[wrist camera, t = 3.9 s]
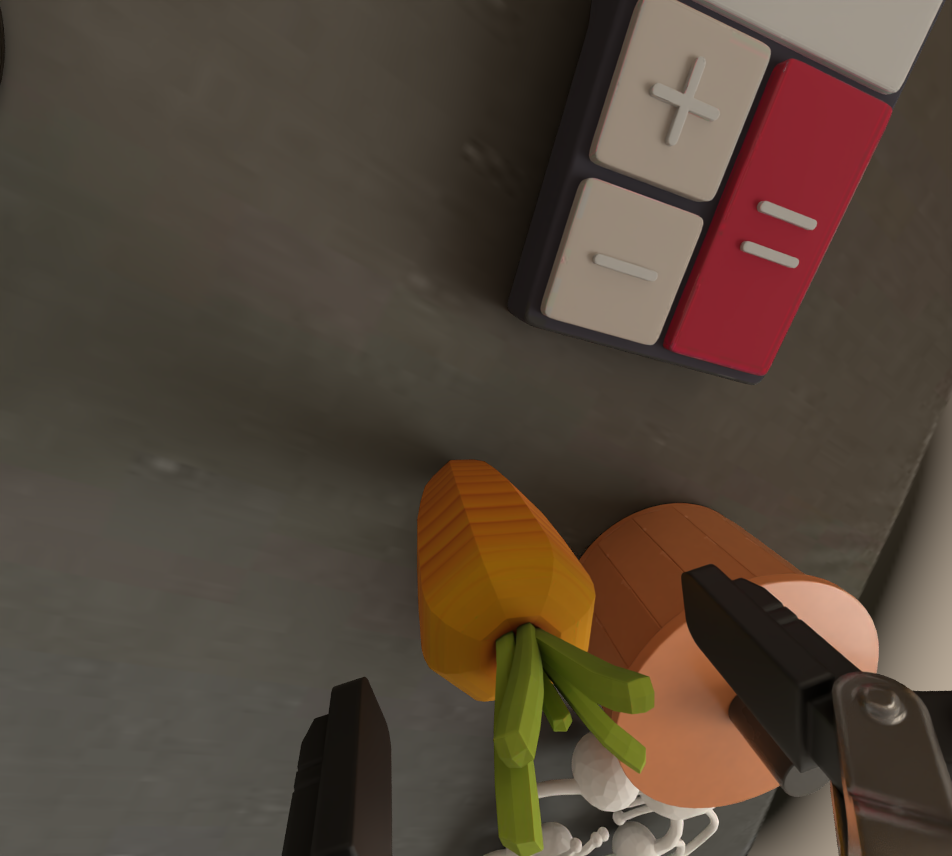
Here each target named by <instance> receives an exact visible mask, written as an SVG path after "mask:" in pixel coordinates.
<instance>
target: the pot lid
mask: <svg viewBox="0 0 952 856" xmlns="http://www.w3.org/2000/svg"><path fill="white" fill-rule="evenodd" d="M747 580H748V581H751V582H753V583H755V584H757V585H759V586H761V587H764V588H765V589H766V590H768V591H769V592H770V593H771V594H772V595H773V596H775V597H776V598H777V599H778V600H779V601H780V602H782V604H783V606H784V607H785V606H786V607H787V608H789V609H790V610H791V611H792V612H793V613H794V614H795V615H797V617H798V619H799V620H800V619H801V620H802V621H804V622H805V623H806V624H807V625H808V626H809V627H811V628H812V629H813V630H814V631H815V632H816V633H818V634H819V635H820V636H821V637H822V638H823V639H825V640H826V641H827V642H828V643H829V644H830V645H832V646H833V647H834V648H835V649H836V650H837V651H838V652H840V653H841V654H842V655H843V656H844V657H845V658H847V659H848V660H849V661H850V662H851V663H852V664H854V665H855V666H856V667H857V668H858V669H860V670H861V671H862V672H871V673H876V672H877V665H878V659H879V644H878V637H877V631H876V629H875V626H874V623H873V620H872V619H871V617H870V615H869V614H868V612H867V610H866V609H865V607H864V606H863V605H862V604H861V603H860V602H859V601H858V600H857V599H856V598H855V597H853V596H852V595H850V594H849V593H848V592H846V591H845V590H843V589H842V588H840V587H839V586H838V585H836V584H834V583H831V582H829V581H827V580H825V579H821V578H818V577H814V576H810V575H803V574H793V573H789V574H772V575H765V576H759V577H754V578H751V579H747ZM628 670H631V671H634V672H637V673H640V674H643V675H646V676H649V677H650V680H651V683H652V686H653V689H654V708H652V709H651V710H649V711H647V712H646V713H639V714H627V713H622V712H616V711H612V718H611V719H612V720H613V721H614V722H615V723H616V724H617V725H619V726H620V727H621V728H622V729H624V730H625V731H626V732H627V733H629V734H630V735H631V736H632V737H634V738H635V739H636V740H637V741H638V742H640V743H641V744H642V745H643V746H644V747H645V748H646V764H645V766H644V768H643V769H642V771H641V773H640V774H639V773H637V772H636V771H634V770H633V769H631V768H630V767H628V766H627V765H625V764H624V763H622V762H621V761H620V760H619V759H618V758H617V759H618V761H619V764H620V766H621V767H622V769H623V771H624V773H625V775H626V777H627V778H628V779H629V780H630V781H631V783H632V784H633V785H634V786H635V787H636V788H637V789H639V790H640V791H641V792H642V793H643V794H645V795H647V796H649V797H650V798H652V799H654V800H656V801H659V802H661V803H664V804H667V805H672V806H676V807H683V808H712V807H719V806H725V805H730V804H734V803H738V802H741V801H744V800H747V799H750V798H753V797H756V796H759V795H761V794H763V793H766V792H768V791H770V790H772V789H774V788H776V787H778V786H781V787H782V789H783V790H784V791H785V792H786V793H788V794H789V795H791V796H805V795H808V794H811V793H813V792H815V791H817V790H819V789H820V788H821V787H823V786H824V785H825V784H827V783H828V781H829V780H830V779H829V778H828V777H827V776H826V775H825V773H824V772H823V771H822V770H821V769H820V768H819V767H816V768H814V769H811V770H808V771H806V772H803V773H800V772H799V771H798V769H797V768H796V767H795V766H794V764H793V763H792V762H791V761H790V760H789V758H788V757H787V756H786V755H785V753H784V752H783V751H782V750H781V748H780V747H779V746H778V745H777V744H776V742H775V741H774V740H773V739H772V737H771V736H770V735H769V734H768V732H767V731H766V730H765V729H764V727H763V726H762V725H761V724H760V723H759V721H758V720H757V719H756V718H755V716H754V715H753V714H752V713H751V711H750V710H749V709H748V708H747V707H746V705H745V704H744V703H743V702H742V700H741V699H740V698H739V697H738V695H737V694H736V693H735V692H734V690H733V689H732V688H731V687H730V686H729V684H728V683H727V682H726V681H725V679H724V678H723V677H722V676H721V674H720V673H719V672H718V671H717V670H716V668H715V667H714V666H713V665H712V663H711V662H710V661H709V660H708V658H707V657H706V656H705V655H704V653H703V652H702V651H701V650H700V649H699V647H698V646H697V645H696V643H695V641H694V640H693V638H692V636H691V634H690V632H689V629H688V626H687V623H686V618H685V610H683V611H682V612H681V613H679V614H678V615H677V616H676V617H674V618H673V619H672V620H671V621H669V622H668V623H667V624H666V625H665V626H664V627H663V628H662V629H661V630H660V631H659V632H657V633H656V634H655V635H654V636H653V637H652V639H651V640H650V641H649V642H648V643H647V644H646V646H645V647H644V648H643V649H642V650H641V651H640V653H639V654H638V656H637V657H636V659H635V660H634V662H633V663H632V665H631V666H630V667H629V669H628Z"/></svg>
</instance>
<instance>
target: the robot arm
mask: <svg viewBox="0 0 952 856" xmlns="http://www.w3.org/2000/svg"><path fill="white" fill-rule="evenodd" d="M4 55H5V40H4V27H3V20H2V14H1V9H0V84H1V80H2V74H3V68H4ZM681 583H682V592H683V601H684V609H685V618H686V623H687V626H688V629H689V632H690V634H691V636H692V638H693V640H694V641H695V643H696V645H697V646H698V647H699V649H700V650H701V651H702V652H703V653H704V655H705V656H706V657H707V658H708V660H709V661H710V662H711V663H712V665H713V666H714V667H715V668H716V670H717V671H718V672H719V673H720V674H721V676H722V677H723V678H724V679H725V681H726V682H727V683H728V684H729V686H730V687H731V688H732V689H733V690H734V692H735V693H736V694H737V695H738V697H739V698H740V699H741V700H742V702H743V703H744V704H745V705H746V707H747V708H748V709H749V710H750V711H751V713H752V714H753V715H754V716H755V718H756V719H757V720H758V721H759V723H760V724H761V725H762V726H763V727H764V729H765V730H766V731H767V732H768V734H769V735H770V736H771V737H772V739H773V740H774V741H775V742H776V744H777V745H778V746H779V747H780V748H781V750H782V751H783V752H784V753H785V755H786V756H787V757H788V758H789V760H790V761H791V762H792V763H793V764H794V766H795V767H796V768H797V769H798V771H799V772H800V773H803V772H806V771H808V770H811V769H814V768H816V767H819V768H820V769H821V770H822V771H823V772H824V773H825V775H826V776H827V777H828V778H829V779H830V790H831V798H832V806H833V814H834V821H835V829H836V837H837V845H838V853H839V856H952V691H912V690H910V689H909V688H907V687H906V686H905V685H903V684H901V683H899V682H897V681H896V680H893V679H891V678H889V677H886V676H883V675H880V674H876V673H871V672H862V671H861V670H860V669H858V668H857V667H856V666H855V665H854V664H852V663H851V662H850V661H849V660H848V659H847V658H845V657H844V656H843V655H842V654H841V653H840V652H838V651H837V650H836V649H835V648H834V647H833V646H832V645H830V644H829V643H828V642H827V641H826V640H825V639H823V638H822V637H821V636H820V635H819V634H818V633H816V632H815V631H814V630H813V629H812V628H811V627H809V626H808V625H807V624H806V623H805V622H804V621H802V620H801V619H800V620H799V619H798V617H797V615H795V614H794V613H793V612H792V611H791V610H790V609H789V608H787V607H786V606H785V607H784V606H783V604H782V602H780V601H779V600H778V599H777V598H776V597H775V596H773V595H772V594H771V593H770V592H769V591H768V590H766V589H765V588H764V587H761V586H759V585H757V584H755V583H753V582H751V581H748V580H746V579H744V578H742V577H741V578H738V579H735V580H731V579H730V578H729V577H728V576H727V575H726V574H725V573H723V572H722V571H721V570H720V569H719V568H718V567H717V566H715V565H714V564H708V565H705V566H702V567H699V568H696V569H693V570H690V571H687V572H684V573H682V575H681ZM282 856H392V785H391V742H390V736H389V731H388V727H387V723H386V721H385V718H384V716H383V713H382V711H381V709H380V706H379V704H378V702H377V700H376V697H375V695H374V693H373V690H372V688H371V686H370V683H369V681H368V679H367V678H366V677H362V678H359V679H356V680H353V681H350V682H347V683H344V684H341V685H338V686H335V687H333V689H332V692H331V699H330V707H329V714H327V715H324V716H321V717H318V718H315V719H314V721H313V723H312V724H311V726H310V728H309V730H308V732H307V734H306V736H305V738H304V739H303V741H302V744H301V750H300V755H299V761H298V772H296V778H295V784H294V792H293V795H292V800H291V806H290V812H289V817H288V823H287V829H286V834H285V840H284V845H283V851H282Z"/></svg>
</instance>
